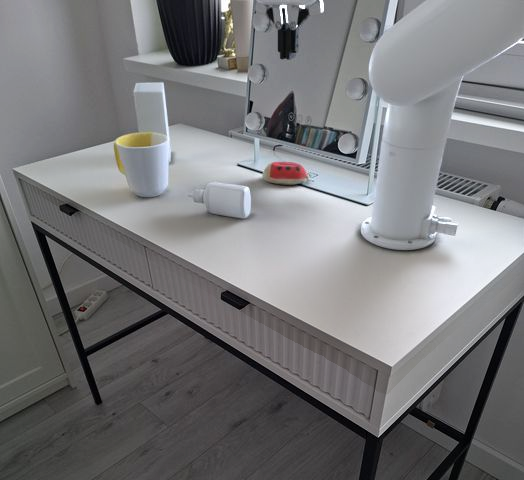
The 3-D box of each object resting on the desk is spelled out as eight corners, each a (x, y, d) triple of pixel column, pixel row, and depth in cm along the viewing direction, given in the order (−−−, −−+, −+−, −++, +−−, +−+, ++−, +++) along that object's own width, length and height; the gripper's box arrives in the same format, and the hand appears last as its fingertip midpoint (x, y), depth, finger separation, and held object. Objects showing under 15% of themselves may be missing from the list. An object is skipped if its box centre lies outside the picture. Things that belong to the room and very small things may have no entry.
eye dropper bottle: (239, 202, 88) (179, 193, 91) (247, 222, 93) (189, 213, 96) (248, 182, 89) (188, 174, 93) (254, 203, 94) (197, 195, 98)
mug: (184, 193, 102) (178, 139, 96) (139, 206, 97) (130, 150, 91) (151, 175, 111) (143, 124, 104) (108, 186, 106) (97, 134, 99)
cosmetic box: (145, 153, 122) (134, 82, 113) (173, 152, 123) (164, 81, 113) (143, 165, 116) (131, 90, 106) (172, 164, 116) (162, 89, 107)
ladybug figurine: (265, 173, 111) (265, 157, 108) (310, 176, 109) (311, 160, 107) (259, 184, 106) (259, 167, 103) (306, 188, 104) (306, 170, 102)
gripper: (350, -96, 70) (339, 56, 81) (250, -91, 74) (254, 52, 86) (335, -99, 64) (326, 64, 76) (229, -94, 69) (235, 59, 80)
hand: (288, 57), depth 81 cm, fingers closed
